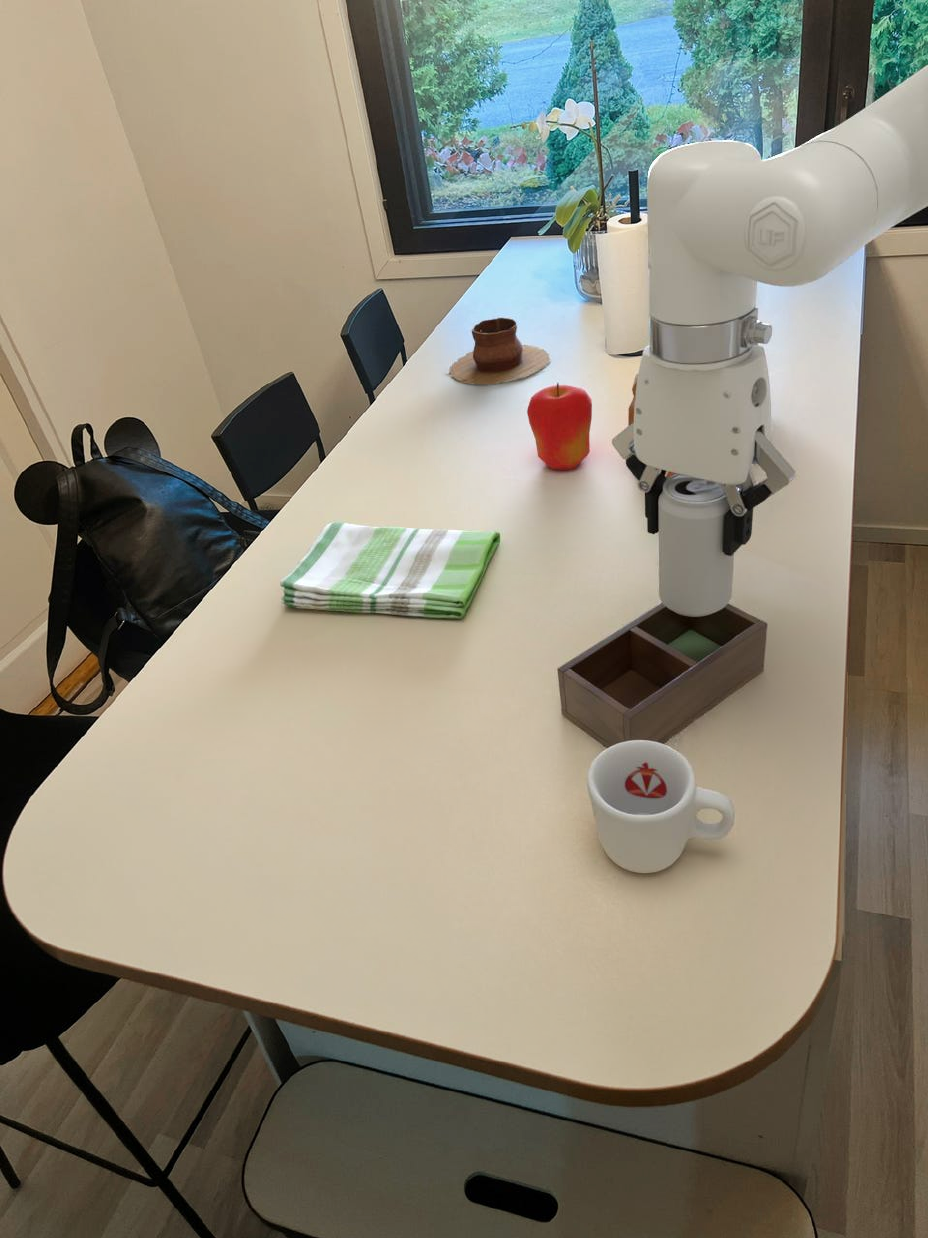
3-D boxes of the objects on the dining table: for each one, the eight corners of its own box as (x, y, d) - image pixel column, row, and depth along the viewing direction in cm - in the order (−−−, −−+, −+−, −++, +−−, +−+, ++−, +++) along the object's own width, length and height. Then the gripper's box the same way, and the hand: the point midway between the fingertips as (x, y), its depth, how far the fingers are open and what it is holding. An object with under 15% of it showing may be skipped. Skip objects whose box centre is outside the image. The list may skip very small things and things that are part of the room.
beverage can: (654, 583, 82) (653, 470, 75) (724, 577, 82) (729, 462, 74) (664, 625, 77) (663, 508, 70) (738, 618, 76) (745, 499, 69)
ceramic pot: (439, 359, 160) (433, 321, 155) (530, 337, 162) (527, 299, 158) (464, 394, 145) (458, 353, 141) (564, 369, 148) (561, 328, 143)
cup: (733, 816, 70) (738, 747, 66) (729, 900, 65) (734, 831, 60) (600, 800, 74) (595, 733, 69) (584, 879, 68) (578, 812, 63)
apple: (603, 450, 123) (599, 370, 116) (581, 479, 117) (576, 397, 110) (547, 445, 127) (540, 367, 120) (523, 473, 121) (514, 392, 114)
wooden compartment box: (763, 670, 83) (767, 623, 80) (631, 766, 76) (630, 719, 73) (689, 629, 90) (690, 583, 86) (561, 714, 83) (556, 668, 79)
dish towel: (334, 533, 115) (328, 510, 113) (502, 538, 109) (499, 513, 106) (279, 612, 103) (271, 588, 101) (466, 623, 96) (461, 597, 94)
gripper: (838, 327, 62) (813, 541, 72) (627, 303, 72) (632, 494, 82) (792, 368, 57) (773, 588, 68) (575, 336, 67) (588, 532, 78)
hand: (696, 535), depth 75 cm, fingers closed on beverage can, 6 cm apart
